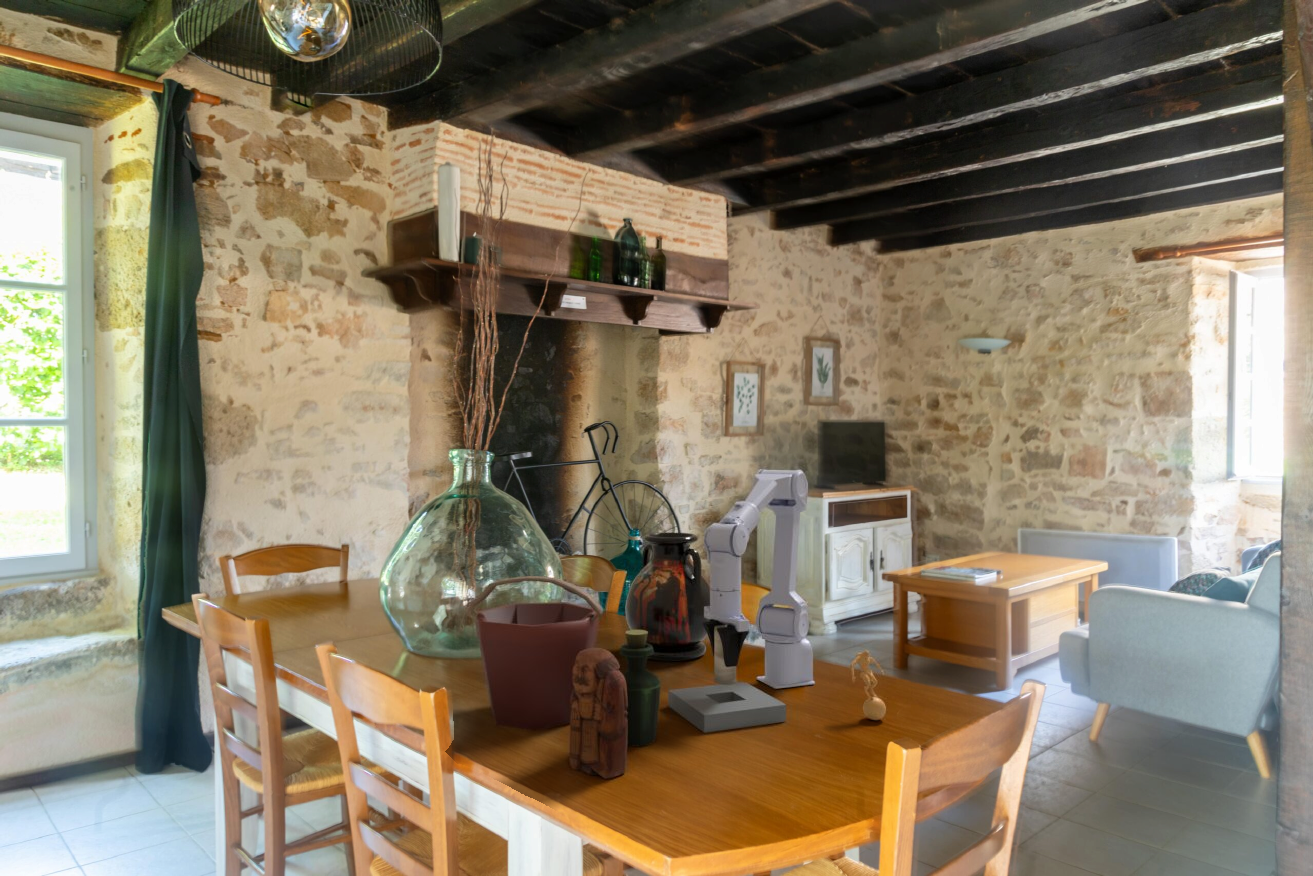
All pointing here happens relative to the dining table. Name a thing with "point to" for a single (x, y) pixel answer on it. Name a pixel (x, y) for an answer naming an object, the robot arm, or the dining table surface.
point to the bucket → (533, 654)
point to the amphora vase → (670, 598)
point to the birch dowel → (722, 663)
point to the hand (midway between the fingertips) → (725, 663)
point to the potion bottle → (640, 690)
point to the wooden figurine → (598, 715)
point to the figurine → (872, 705)
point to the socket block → (726, 706)
